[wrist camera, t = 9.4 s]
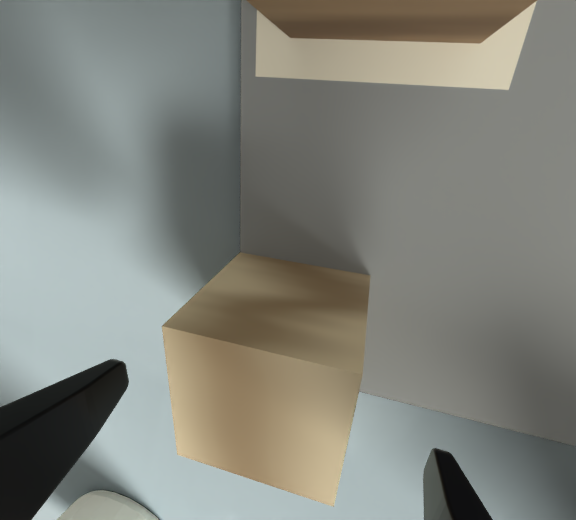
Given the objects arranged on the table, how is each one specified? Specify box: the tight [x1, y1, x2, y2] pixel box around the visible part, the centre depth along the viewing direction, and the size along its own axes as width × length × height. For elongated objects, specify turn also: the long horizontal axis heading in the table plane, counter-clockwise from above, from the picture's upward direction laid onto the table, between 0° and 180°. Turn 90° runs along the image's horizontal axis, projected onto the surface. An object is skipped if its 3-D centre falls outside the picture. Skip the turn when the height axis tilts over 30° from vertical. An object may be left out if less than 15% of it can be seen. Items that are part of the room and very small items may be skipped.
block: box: [162, 252, 370, 507], centre depth 11 cm, size 5×5×5 cm
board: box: [240, 0, 576, 446], centre depth 9 cm, size 14×22×1 cm, turn 176°
